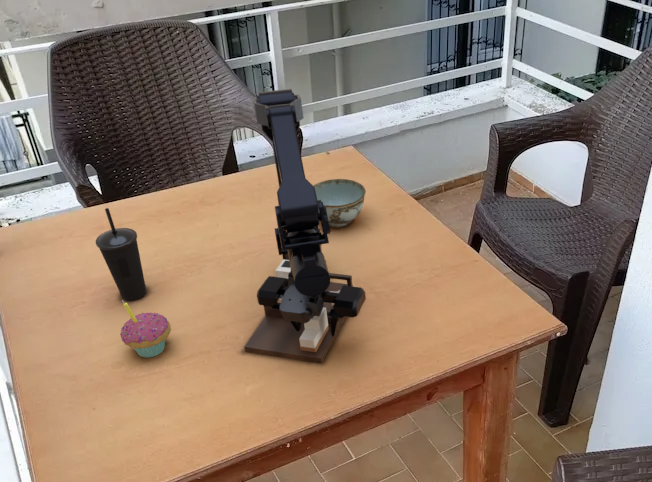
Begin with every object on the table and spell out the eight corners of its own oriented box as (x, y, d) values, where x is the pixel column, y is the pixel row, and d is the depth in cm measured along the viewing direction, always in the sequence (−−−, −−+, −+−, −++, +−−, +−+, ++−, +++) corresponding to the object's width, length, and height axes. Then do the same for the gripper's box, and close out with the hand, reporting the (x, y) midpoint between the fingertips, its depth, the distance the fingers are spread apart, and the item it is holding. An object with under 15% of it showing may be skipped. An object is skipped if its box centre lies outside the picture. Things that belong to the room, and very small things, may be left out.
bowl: (298, 226, 163) (294, 196, 159) (333, 202, 172) (330, 173, 168) (345, 241, 157) (342, 211, 153) (378, 216, 167) (376, 186, 162)
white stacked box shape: (313, 326, 131) (310, 305, 128) (328, 328, 130) (326, 307, 127) (300, 350, 125) (296, 328, 122) (315, 352, 125) (312, 330, 122)
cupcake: (131, 370, 123) (112, 317, 116) (124, 343, 130) (105, 291, 122) (179, 354, 127) (164, 302, 119) (170, 329, 133) (155, 278, 126)
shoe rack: (245, 351, 127) (239, 324, 123) (285, 292, 142) (280, 266, 138) (321, 363, 124) (318, 335, 120) (354, 301, 139) (351, 275, 135)
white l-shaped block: (286, 280, 138) (283, 258, 135) (300, 281, 137) (297, 260, 134) (272, 300, 133) (268, 278, 130) (287, 302, 132) (283, 280, 129)
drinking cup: (161, 288, 144) (136, 203, 132) (135, 308, 138) (106, 222, 126) (133, 280, 146) (106, 196, 135) (106, 299, 141) (76, 214, 129)
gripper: (236, 282, 114) (251, 353, 123) (342, 296, 110) (350, 368, 120) (263, 247, 123) (276, 316, 132) (363, 259, 119) (369, 329, 128)
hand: (316, 332), depth 128 cm, fingers open, 7 cm apart
